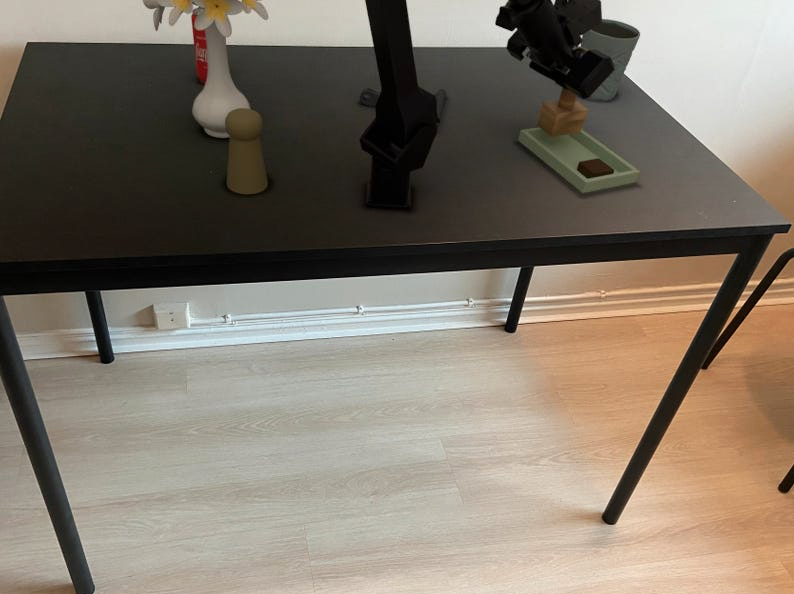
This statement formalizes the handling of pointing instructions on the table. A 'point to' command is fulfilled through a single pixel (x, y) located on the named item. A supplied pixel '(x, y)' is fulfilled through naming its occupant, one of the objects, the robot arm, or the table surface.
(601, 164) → the dark brown block
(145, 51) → the table surface
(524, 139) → the tray
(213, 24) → the flower vase
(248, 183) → the brown pawn
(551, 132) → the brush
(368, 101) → the bracket
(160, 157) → the table surface
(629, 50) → the grey-green cup
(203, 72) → the beverage can
